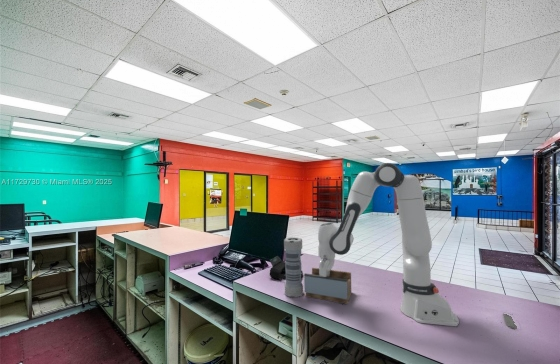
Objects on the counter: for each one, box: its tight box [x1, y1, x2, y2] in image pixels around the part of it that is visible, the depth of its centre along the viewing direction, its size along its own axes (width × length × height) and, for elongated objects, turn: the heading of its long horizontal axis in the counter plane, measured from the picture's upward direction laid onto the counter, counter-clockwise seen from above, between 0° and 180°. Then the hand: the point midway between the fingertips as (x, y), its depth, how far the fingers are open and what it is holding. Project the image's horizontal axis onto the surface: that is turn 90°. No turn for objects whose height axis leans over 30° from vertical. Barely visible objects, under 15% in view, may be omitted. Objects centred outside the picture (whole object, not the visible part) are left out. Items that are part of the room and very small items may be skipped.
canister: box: [283, 236, 304, 298], centre depth 134 cm, size 10×10×30 cm
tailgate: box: [303, 272, 347, 299], centre depth 125 cm, size 22×2×9 cm, turn 66°
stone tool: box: [502, 313, 517, 330], centre depth 104 cm, size 14×1×5 cm
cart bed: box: [305, 267, 352, 305], centre depth 132 cm, size 22×14×11 cm, turn 66°
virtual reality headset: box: [269, 255, 304, 281], centre depth 160 cm, size 19×22×10 cm
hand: (327, 279), depth 130 cm, fingers closed
